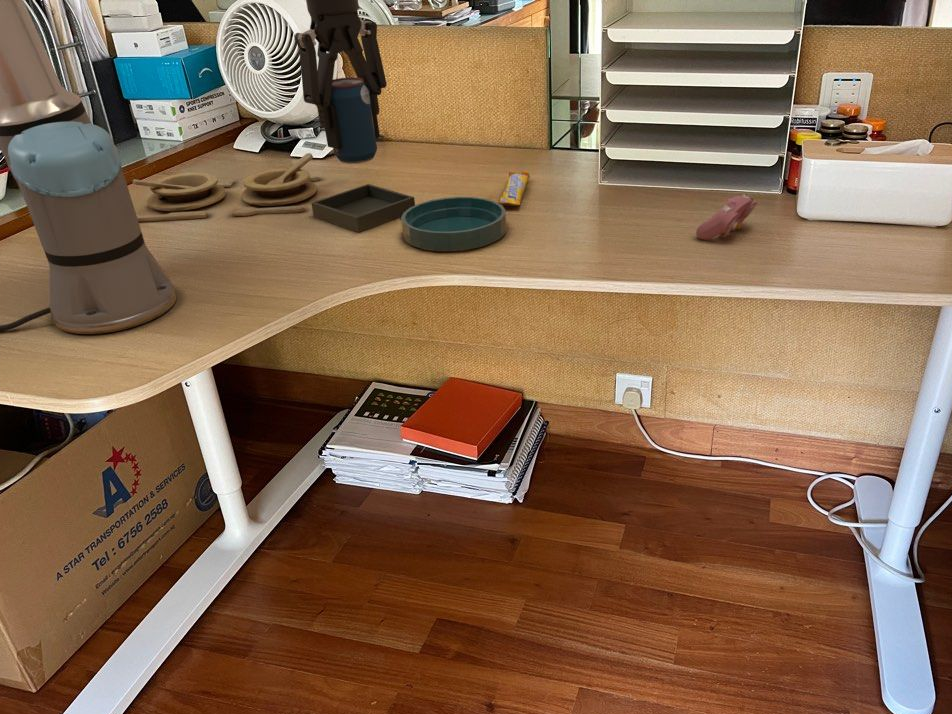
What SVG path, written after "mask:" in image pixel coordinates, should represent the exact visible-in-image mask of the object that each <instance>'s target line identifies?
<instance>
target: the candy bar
mask: <svg viewBox="0 0 952 714" xmlns="http://www.w3.org/2000/svg"><path fill="white" fill-rule="evenodd" d="M508 178H509V179H508V181H507V184H506V186H505V189H504V190H503V192H502V194H501V196H500V198H499V200H498V201H496V202H497V203H499V204H501V205H502V206H509V207H511V206H512V207H513V206H514V207H515V206H521V203H522V199H523V197H524V193H525V190H526V187H527V184H528V182H529V180H530V178H531V176H530V173H529V172H528V171H520V172H518V173H516V172H514V171H513V172H512V171H511V172H508Z"/></svg>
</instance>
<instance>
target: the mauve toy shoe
mask: <svg viewBox="0 0 952 714" xmlns="http://www.w3.org/2000/svg"><path fill="white" fill-rule="evenodd" d="M757 203H758V202H757V201H756V200H754V199H753V198H752V197H750V196H746V194H745V193H744V194H742V195H735V196H733V197H730V198H729V199H728V200H727V201H726V203H725V204H724V205H723V206H722V207H721V208H720V209H719V210H718V211H717V212H716V213H715V214H714V215H713V216H712V217H711V218H709V219H707V220H705V221H704V222H702V223H700V224H699V225H698V227H697V228H696V230H695V236H696V238H698V239H700V240H710V239H711V240H712V239H713V238H715V237H717V236H721V237H722V238H726V237H727V236H728V235H729V234H730V233H731V231H733V232H735V231H736V230H737V229H740V228H741V227H742V224H743V222H744V221H745V220H746V219H747V218H748V217H749V216H750V215H751V213H752V212H753V211H754V209H755V208H756V206H757Z"/></svg>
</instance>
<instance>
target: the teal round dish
mask: <svg viewBox="0 0 952 714" xmlns="http://www.w3.org/2000/svg"><path fill="white" fill-rule="evenodd" d="M497 202H498V201H495V200H491V199H488V198H483V197H476V196H451V197H441V198H435V199H429V200H427V201H423V202H420V203H419V202H418V203H417V204H415V206H413V207H411V208H409V209H408V210H406V211H405V212H404V213H403V215H402V217H400V221H401V229H402V230H401V231H402V235H403V238H404V241H405V242H406V243H407V244H409V245H411V246H413V247H414V248H418V249H421V250H427V251H433V252H458V251H468V250H473V249H477V248H478V249H479V248H481V247H484V246H488V245H491V244H493V243H495V242H497V241H498V240H500V239H502V238H503V236H505V234H506V233H507V227H508V226H507V210H506V209H505V207H504V205H501V204H499V203H497Z"/></svg>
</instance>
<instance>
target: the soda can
mask: <svg viewBox="0 0 952 714" xmlns="http://www.w3.org/2000/svg"><path fill="white" fill-rule="evenodd" d="M330 105H334V106H335V108H336V114H337V120H338V126H339V132H340V138H341V144H342V148H341V149H335V148H332V150H333V154H334V155H335V157H336V158H337V160H338V161H339V162H340V163H342V164H349V165H352V164H353V165H354V164H363V163H367V162H370V161H372V160H373V159H374V158H375V156H376V154H377V151H378V145H377V138H376V137H375V130H374V123H373V116H372V109H371V102H370V95H369V91H368V89H367V87H366V86H365V84H364V80H363V79H361V78H357V77H339V78H333V83H332V91H331V100H330Z"/></svg>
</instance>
